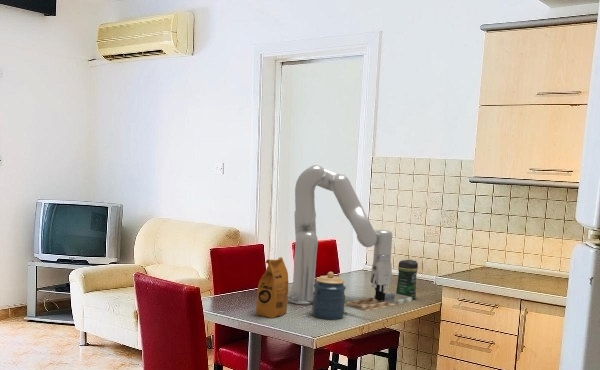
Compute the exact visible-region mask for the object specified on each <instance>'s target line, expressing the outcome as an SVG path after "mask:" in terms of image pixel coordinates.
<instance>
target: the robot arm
mask: <svg viewBox="0 0 600 370" xmlns="http://www.w3.org/2000/svg"><path fill="white" fill-rule="evenodd" d="M316 187H320V188H322V189H325V190H327V191H329V192H330V191H331V192H332V193H333V194H334V196H335V199H336V201H337V202H338V204H339V206H340V209H341V211H342V212H343V214H344V216H345V217H346V219H347V220H348V221H349V223H350V224H351V226H352V229H353V230H354V232H355V234H356V239H357V241H358V243H360V244H361V245H362V247H365V248H371V247H373V258H372V265H371V271H370V283H371V287H372V288H374V291H375V295H374V296H375V299H376V300H380V301H381V300H383V294H384V292H385V291H386V290H385V289H386V287H387V286H388V285H390V284H391V283H392V278H393V276H392V275H393V272H392V271H393V270H392V261H391V259H392V258H391V257H392V245H393V232H392V231H391V230H388V229H387V230H385V229H374V228H373V225H372V223H371V222H370V219H369V217H368V216H367V214H366V212H365V210H364V207H363V206H362V203H361V202H360V199H359V197H358V196H357V194H356V191H355V190H354V188H353V185H352V183H351V181H350V180H349V178H348V177H347V176H346V175H345V174H341V173H336V172H334V171H331V170H329V169H326V168H323V166H321V165H317V164H314V165H313V164H312V165H311V166H309V167H308V168H306V169H305V170H304V171H302V172H301V173H300V175H299V176H298V178H297V180H296V182H295V187H294V203H295V204H294V205H295V207H294V208H295V211H294V217H293V218H294V234H295V237H294V238H295V242H294V243H295V248H294V249H295V250H294V258H293V259H294V261H293V276H292V290H291V291H290V293H288V299H287V302H289V303H292V304H295V305H303V306H304V305H305V306H306V305H308V306H309V305H313V293H314V291H315V287H314V284H315V283H316V282H315V281H316V269H317V256H318V255H317V254H318V247H319V246H318V245H319V242H318V241H319V240H318V236H317V227H316V222H317V221H316V218H317V214H316V213H317V211H316V208H315V207H316V205H315V198H316V197H315V196H316V195H315V190H316ZM360 244H359V245H360Z"/></svg>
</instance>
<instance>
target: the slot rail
mask: <svg viewBox="0 0 600 370" xmlns="http://www.w3.org/2000/svg"><path fill="white" fill-rule="evenodd" d="M389 293H390V294H393V295H395V298H397V300H395V303H393V302H388V301H385V302H380V301H377V300H376V299H375V295H373V297H367V298H362V299H357V300H351V301H347V302H345V304H344V307H349V308H353V309H357V310H360V311H364V312H368V311H373V310H377V309H382V308H387V307H390V306H391V307H392V306H396V305H401V304H404V303H408V302H413V300H414V299H413V297H408V296H404V295H400V294H396V292H389Z"/></svg>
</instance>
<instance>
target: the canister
mask: <svg viewBox="0 0 600 370" xmlns="http://www.w3.org/2000/svg"><path fill="white" fill-rule="evenodd" d="M315 281H316V282H315V284H314V293H313V300H312V302H313V304H312V308H311V313H312V316H313V317H316V318H319V319H323V320H339V319H342V318H343V317H344V316H345V305H346V302H345V301H346V294H345V290H346V289H347V287H346V285H344V283H345V281H344V279H342V278H341V277H339V276H337V275H335V274H334V272H333V271H328V272H327V274H326V275H320V276H319V277H317V278H315Z"/></svg>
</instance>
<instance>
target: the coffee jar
mask: <svg viewBox="0 0 600 370" xmlns="http://www.w3.org/2000/svg"><path fill="white" fill-rule="evenodd" d="M418 264H419V262H418V261H417V260H413V259H405V260H404V259H403V260H400V261H399V262H398V268H397V269H398V274H397V275H398V276H397V285H396V291H395V294H400V295H404V296H408V297H413V300H415V299H416V298H417V297H416V295H417V291H416V290H417V273H418V269H419V265H418Z"/></svg>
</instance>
